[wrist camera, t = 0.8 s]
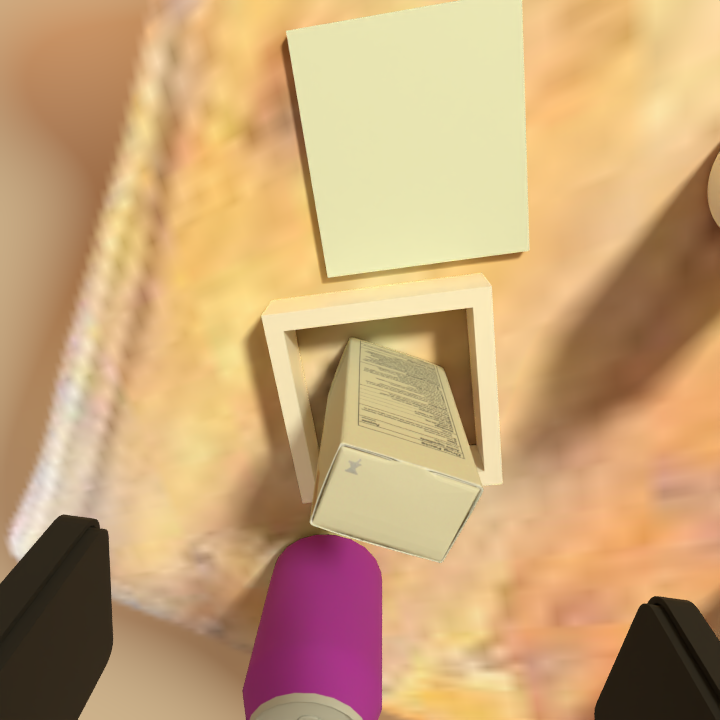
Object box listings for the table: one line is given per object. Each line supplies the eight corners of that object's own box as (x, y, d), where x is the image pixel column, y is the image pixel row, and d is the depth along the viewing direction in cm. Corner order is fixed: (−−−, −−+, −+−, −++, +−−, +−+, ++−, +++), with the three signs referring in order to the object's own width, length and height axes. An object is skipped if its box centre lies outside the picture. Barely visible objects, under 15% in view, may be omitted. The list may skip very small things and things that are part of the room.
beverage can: (279, 518, 37) (235, 679, 26) (390, 534, 38) (393, 701, 26) (271, 602, 40) (228, 779, 29) (374, 616, 40) (370, 798, 29)
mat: (526, 248, 30) (529, 250, 29) (328, 275, 31) (327, 277, 30) (518, -8, 25) (521, -11, 25) (288, 33, 26) (286, 31, 26)
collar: (493, 456, 35) (502, 484, 32) (308, 475, 36) (302, 503, 33) (481, 272, 30) (491, 285, 28) (271, 300, 32) (261, 315, 29)
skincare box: (326, 395, 34) (298, 525, 22) (350, 332, 32) (332, 438, 21) (423, 428, 34) (443, 570, 23) (451, 368, 33) (487, 489, 21)
